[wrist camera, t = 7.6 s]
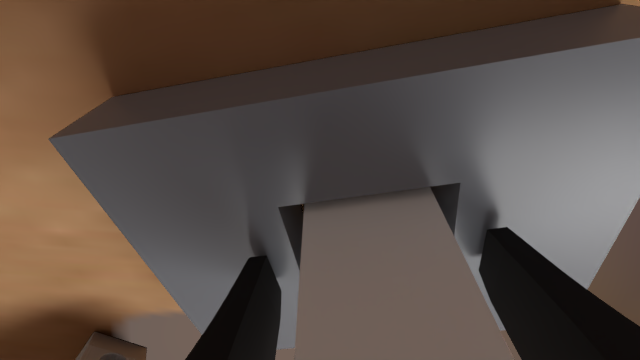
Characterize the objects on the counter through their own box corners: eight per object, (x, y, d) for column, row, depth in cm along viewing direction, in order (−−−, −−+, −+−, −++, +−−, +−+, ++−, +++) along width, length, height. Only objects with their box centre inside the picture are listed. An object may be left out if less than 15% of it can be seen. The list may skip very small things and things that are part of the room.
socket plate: (622, 3, 9) (739, 20, 6) (528, 268, 16) (567, 324, 13) (112, 97, 10) (48, 138, 8) (231, 299, 17) (217, 354, 15)
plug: (410, 147, 11) (547, 427, 5) (410, 223, 14) (500, 485, 7) (306, 162, 12) (288, 441, 5) (323, 233, 14) (326, 491, 7)
